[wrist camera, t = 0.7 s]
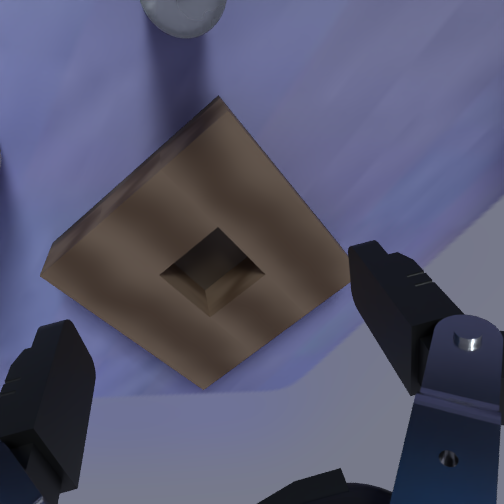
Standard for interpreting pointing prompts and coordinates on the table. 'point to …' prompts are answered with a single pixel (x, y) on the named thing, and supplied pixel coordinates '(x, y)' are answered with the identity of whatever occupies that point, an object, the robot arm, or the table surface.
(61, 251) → the socket block
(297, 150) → the table surface
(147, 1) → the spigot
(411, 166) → the table surface
